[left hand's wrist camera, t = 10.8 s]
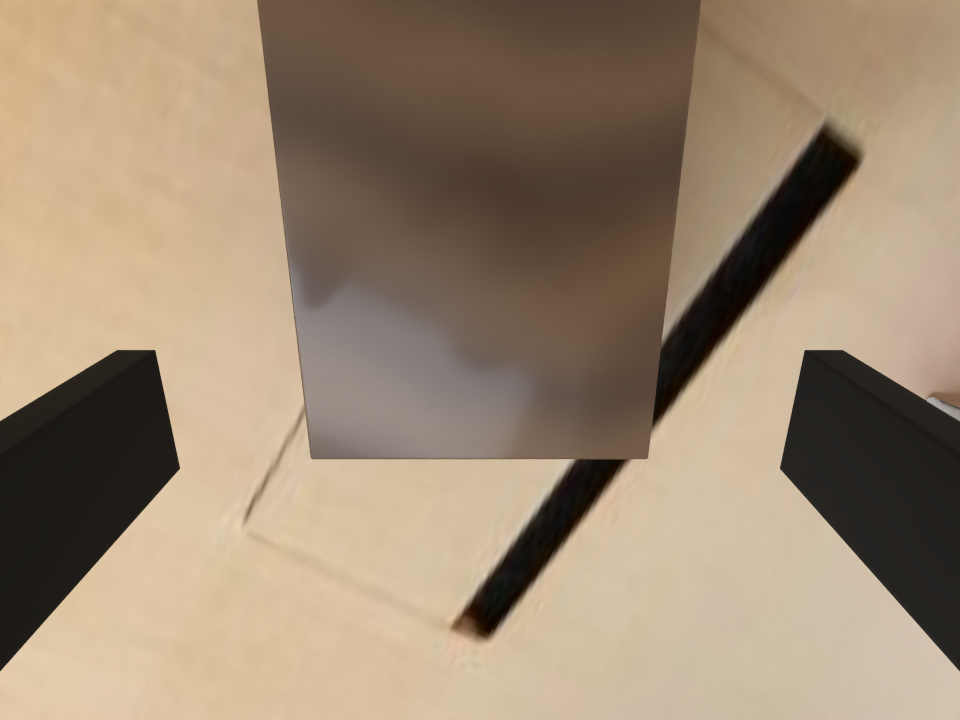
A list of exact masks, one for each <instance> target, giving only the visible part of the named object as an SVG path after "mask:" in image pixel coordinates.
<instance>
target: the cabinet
mask: <svg viewBox="0 0 960 720" xmlns="http://www.w3.org/2000/svg"><path fill="white" fill-rule="evenodd" d="M257 3H258V11H259V20H260V28H261V37H262V45H263V54H264V62H265V71H266V79H267V88H268V96H269V105H270V113H271V122H272V131H273V139H274V148H275V156H276V165H277V173H278V182H279V190H280V199H281V207H282V216H283V224H284V233H285V241H286V250H287V258H288V267H289V275H290V284H291V292H292V301H293V309H294V318H295V327H296V335H297V344H298V352H299V361H300V369H301V378H302V386H303V395H304V403H305V412H306V420H307V429H308V437H309V446H310V454H311V459H647V458H648V453H649V444H650V436H651V427H652V419H653V410H654V401H655V393H656V384H657V375H658V367H659V358H660V349H661V341H662V332H663V324H664V315H665V306H666V298H667V289H668V280H669V272H670V263H671V254H672V246H673V237H674V229H675V220H676V211H677V203H678V194H679V185H680V177H681V168H682V160H683V151H684V142H685V134H686V125H687V116H688V108H689V99H690V90H691V82H692V73H693V65H694V56H695V47H696V39H697V30H698V21H699V13H700V4H701V0H257Z"/></svg>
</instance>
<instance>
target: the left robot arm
mask: <svg viewBox="0 0 960 720" xmlns="http://www.w3.org/2000/svg"><path fill="white" fill-rule="evenodd" d="M179 469H180V466H179V461H178V457H177V452H176V447H175V442H174V438H173V433H172V428H171V423H170V419H169V414H168V409H167V404H166V400H165V395H164V390H163V385H162V380H161V376H160V371H159V366H158V361H157V357H156V352H155V350H117V351H115V352H113V353H112V354H110V355H108V356H107V357H105V358H104V359H102V360H100V361H99V362H97V363H95V364H94V365H92V366H90V367H89V368H87V369H85V370H84V371H82V372H80V373H79V374H77V375H76V376H74V377H72V378H71V379H69V380H67V381H66V382H64V383H62V384H61V385H59V386H57V387H56V388H54V389H52V390H51V391H49V392H47V393H46V394H44V395H43V396H41V397H39V398H38V399H36V400H34V401H33V402H31V403H29V404H28V405H26V406H24V407H23V408H21V409H19V410H18V411H16V412H15V413H13V414H11V415H10V416H8V417H6V418H5V419H3V420H1V421H0V671H1V670H2V669H3V668H4V666H5V665H6V664H7V663H8V662H9V661H10V660H11V659H12V657H13V656H14V655H15V654H16V653H17V652H18V651H19V650H20V648H21V647H22V646H23V645H24V644H25V643H26V642H27V640H28V639H29V638H30V637H31V636H32V635H33V634H34V633H35V631H36V630H37V629H38V628H39V627H40V626H41V625H42V624H43V622H44V621H45V620H46V619H47V618H48V617H49V616H50V615H51V613H52V612H53V611H54V610H55V609H56V608H57V607H58V606H59V604H60V603H61V602H62V601H63V600H64V599H65V598H66V596H67V595H68V594H69V593H70V592H71V591H72V590H73V589H74V587H75V586H76V585H77V584H78V583H79V582H80V581H81V580H82V578H83V577H84V576H85V575H86V574H87V573H88V572H89V571H90V569H91V568H92V567H93V566H94V565H95V564H96V563H97V562H98V560H99V559H100V558H101V557H102V556H103V555H104V554H105V553H106V551H107V550H108V549H109V548H110V547H111V546H112V545H113V543H114V542H115V541H116V540H117V539H118V538H119V537H120V536H121V534H122V533H123V532H124V531H125V530H126V529H127V528H128V527H129V525H130V524H131V523H132V522H133V521H134V520H135V519H136V518H137V516H138V515H139V514H140V513H141V512H142V511H143V510H144V509H145V507H146V506H147V505H148V504H149V503H150V502H151V501H152V500H153V498H154V497H155V496H156V495H157V494H158V493H159V492H160V490H161V489H162V488H163V487H164V486H165V485H166V484H167V483H168V481H169V480H170V479H171V478H172V477H173V476H174V475H175V474H176V472H177V471H178V470H179ZM780 469H781V470H782V471H783V472H784V474H785V475H786V476H787V477H788V478H789V479H790V480H791V481H792V483H793V484H794V485H795V486H796V487H797V488H798V489H799V490H800V492H801V493H802V494H803V495H804V496H805V497H806V498H807V500H808V501H809V502H810V503H811V504H812V505H813V506H814V507H815V509H816V510H817V511H818V512H819V513H820V514H821V515H822V516H823V518H824V519H825V520H826V521H827V522H828V523H829V524H830V525H831V527H832V528H833V529H834V530H835V531H836V532H837V533H838V534H839V536H840V537H841V538H842V539H843V540H844V541H845V542H846V543H847V545H848V546H849V547H850V548H851V549H852V550H853V551H854V553H855V554H856V555H857V556H858V557H859V558H860V559H861V560H862V562H863V563H864V564H865V565H866V566H867V567H868V568H869V569H870V571H871V572H872V573H873V574H874V575H875V576H876V577H877V578H878V580H879V581H880V582H881V583H882V584H883V585H884V586H885V587H886V589H887V590H888V591H889V592H890V593H891V594H892V595H893V596H894V598H895V599H896V600H897V601H898V602H899V603H900V604H901V606H902V607H903V608H904V609H905V610H906V611H907V612H908V613H909V615H910V616H911V617H912V618H913V619H914V620H915V621H916V622H917V624H918V625H919V626H920V627H921V628H922V629H923V630H924V631H925V633H926V634H927V635H928V636H929V637H930V638H931V639H932V640H933V642H934V643H935V644H936V645H937V646H938V647H939V648H940V650H941V651H942V652H943V653H944V654H945V655H946V656H947V657H948V659H949V660H950V661H951V662H952V663H953V664H954V665H955V666H956V668H957V669H958V670H959V671H960V421H959V420H957V419H955V418H954V417H952V416H950V415H949V414H947V413H945V412H944V411H942V410H941V409H939V408H937V407H936V406H934V405H932V404H931V403H929V402H927V401H926V400H924V399H922V398H921V397H919V396H917V395H916V394H914V393H913V392H911V391H909V390H908V389H906V388H904V387H903V386H901V385H899V384H898V383H896V382H894V381H893V380H891V379H889V378H888V377H886V376H884V375H883V374H881V373H880V372H878V371H876V370H875V369H873V368H871V367H870V366H868V365H866V364H865V363H863V362H861V361H860V360H858V359H856V358H855V357H853V356H852V355H850V354H848V353H847V352H845V351H843V350H805V352H804V357H803V361H802V366H801V371H800V376H799V380H798V385H797V390H796V395H795V400H794V404H793V409H792V414H791V419H790V423H789V428H788V433H787V438H786V442H785V447H784V452H783V457H782V461H781V466H780Z"/></svg>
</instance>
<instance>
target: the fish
mask: <svg viewBox="0 0 960 720" xmlns="http://www.w3.org/2000/svg"><path fill="white" fill-rule="evenodd" d="M926 401H927V402H929V403H931V404H932V405H934V406H936V407H937V408H939V409H941V410H942V411H944V412H945V413H947V414H949V415H950V416H952V417H954V418H955V419H957V420H959V421H960V408H959V407H956V406H953V405H950V404H948V403H945V402H943V401H941V400H939V399H937V398H935V397H930V398H928V399H927V400H926Z"/></svg>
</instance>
